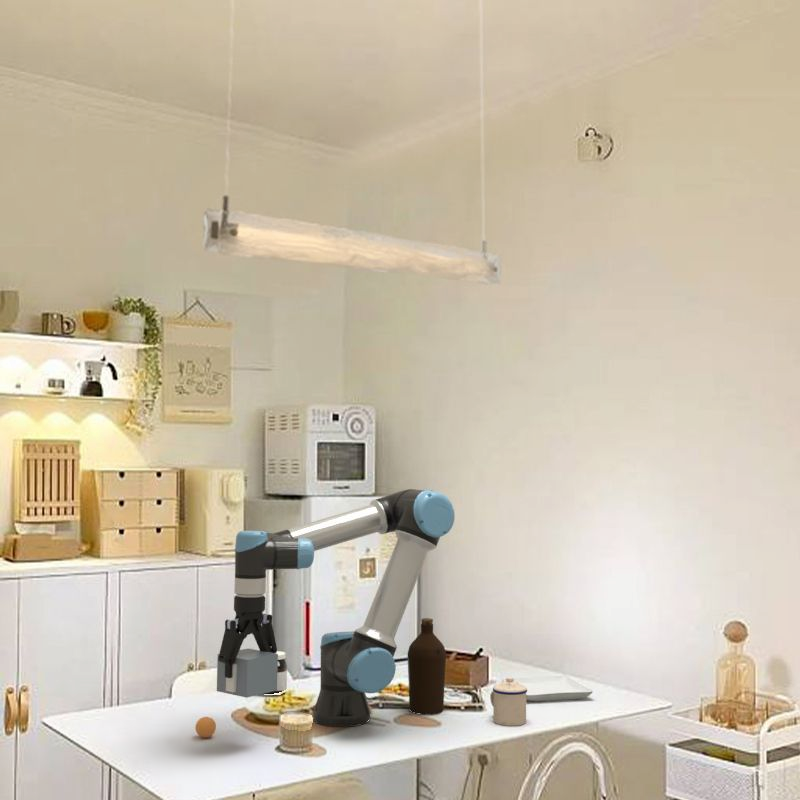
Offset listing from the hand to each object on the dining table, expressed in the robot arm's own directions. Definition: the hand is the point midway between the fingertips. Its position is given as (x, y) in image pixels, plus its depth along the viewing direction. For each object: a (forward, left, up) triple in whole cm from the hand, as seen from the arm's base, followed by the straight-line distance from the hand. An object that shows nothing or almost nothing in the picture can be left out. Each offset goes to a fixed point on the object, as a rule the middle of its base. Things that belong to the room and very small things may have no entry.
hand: (247, 687), depth 257 cm
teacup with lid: (-37, -60, -14) cm, 72 cm away
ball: (+14, 0, -12) cm, 18 cm away
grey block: (0, 0, -1) cm, 1 cm away
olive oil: (-14, -56, -14) cm, 59 cm away
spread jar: (+35, -45, -14) cm, 58 cm away
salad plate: (-31, -94, -15) cm, 100 cm away
